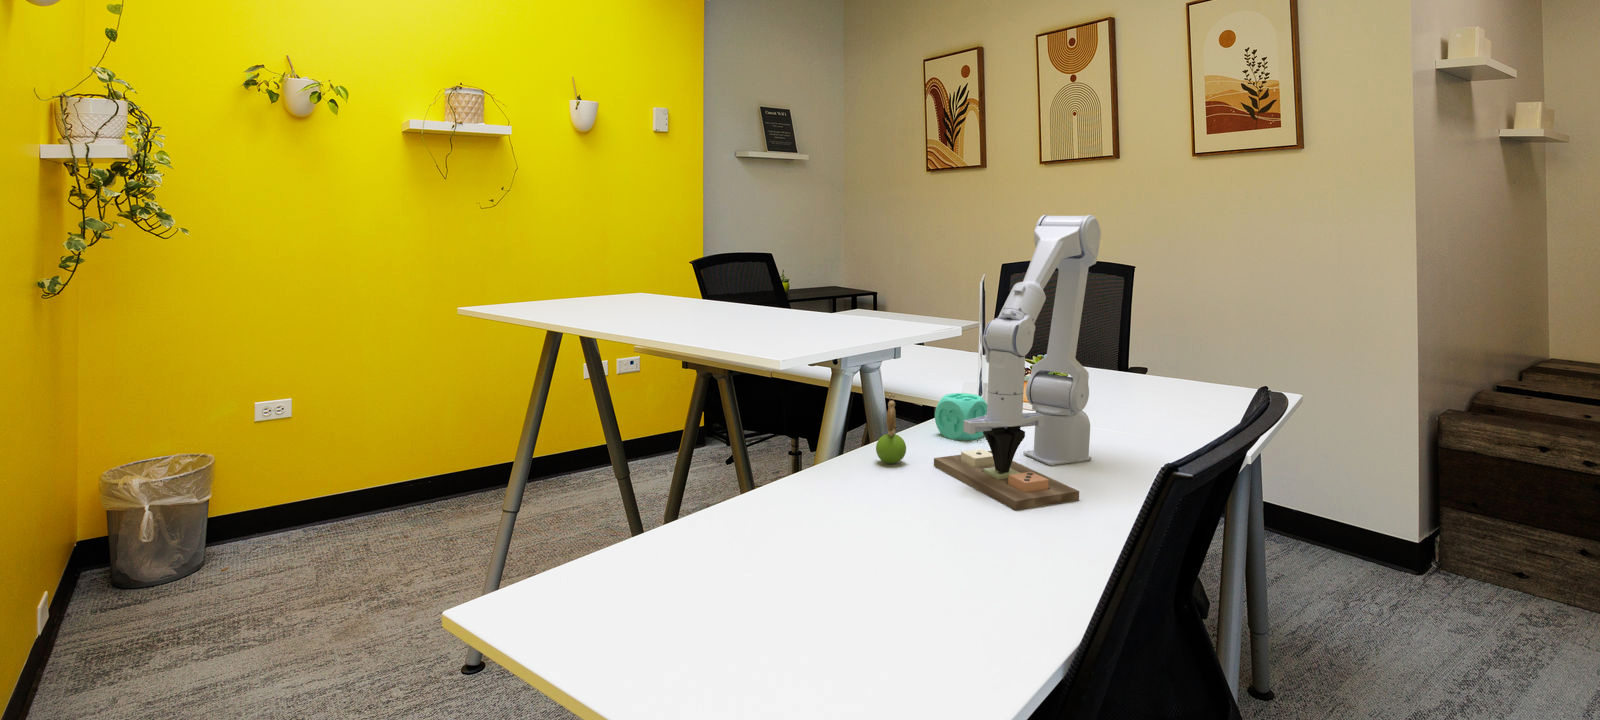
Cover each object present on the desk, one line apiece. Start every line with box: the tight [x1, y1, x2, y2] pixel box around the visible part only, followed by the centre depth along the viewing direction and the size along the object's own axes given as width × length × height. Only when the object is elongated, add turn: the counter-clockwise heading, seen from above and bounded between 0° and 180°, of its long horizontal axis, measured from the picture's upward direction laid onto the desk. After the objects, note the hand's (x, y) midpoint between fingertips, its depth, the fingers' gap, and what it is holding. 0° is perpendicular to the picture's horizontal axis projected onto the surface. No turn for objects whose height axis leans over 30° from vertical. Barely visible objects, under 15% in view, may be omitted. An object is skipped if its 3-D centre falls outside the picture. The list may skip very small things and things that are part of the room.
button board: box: [933, 450, 1080, 511], centre depth 138 cm, size 12×24×2 cm, turn 21°
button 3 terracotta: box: [1008, 472, 1049, 493], centre depth 132 cm, size 4×4×2 cm
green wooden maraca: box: [875, 393, 907, 465], centre depth 149 cm, size 5×6×12 cm
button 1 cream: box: [960, 448, 995, 468], centre depth 144 cm, size 4×4×2 cm
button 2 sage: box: [983, 467, 1020, 480], centre depth 138 cm, size 4×4×2 cm
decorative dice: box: [934, 392, 987, 442], centre depth 167 cm, size 8×8×8 cm
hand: (1002, 470), depth 138 cm, fingers closed, pressing on button 2 sage
